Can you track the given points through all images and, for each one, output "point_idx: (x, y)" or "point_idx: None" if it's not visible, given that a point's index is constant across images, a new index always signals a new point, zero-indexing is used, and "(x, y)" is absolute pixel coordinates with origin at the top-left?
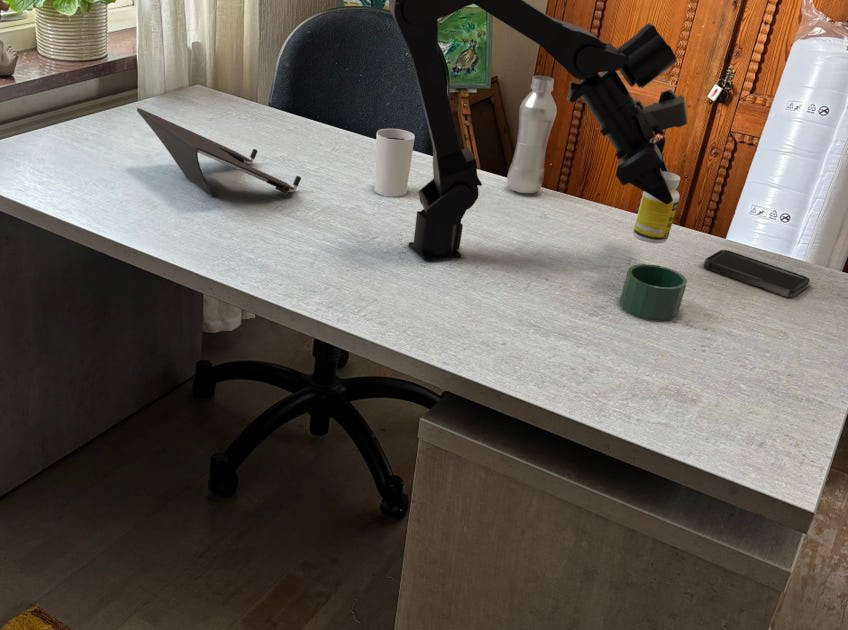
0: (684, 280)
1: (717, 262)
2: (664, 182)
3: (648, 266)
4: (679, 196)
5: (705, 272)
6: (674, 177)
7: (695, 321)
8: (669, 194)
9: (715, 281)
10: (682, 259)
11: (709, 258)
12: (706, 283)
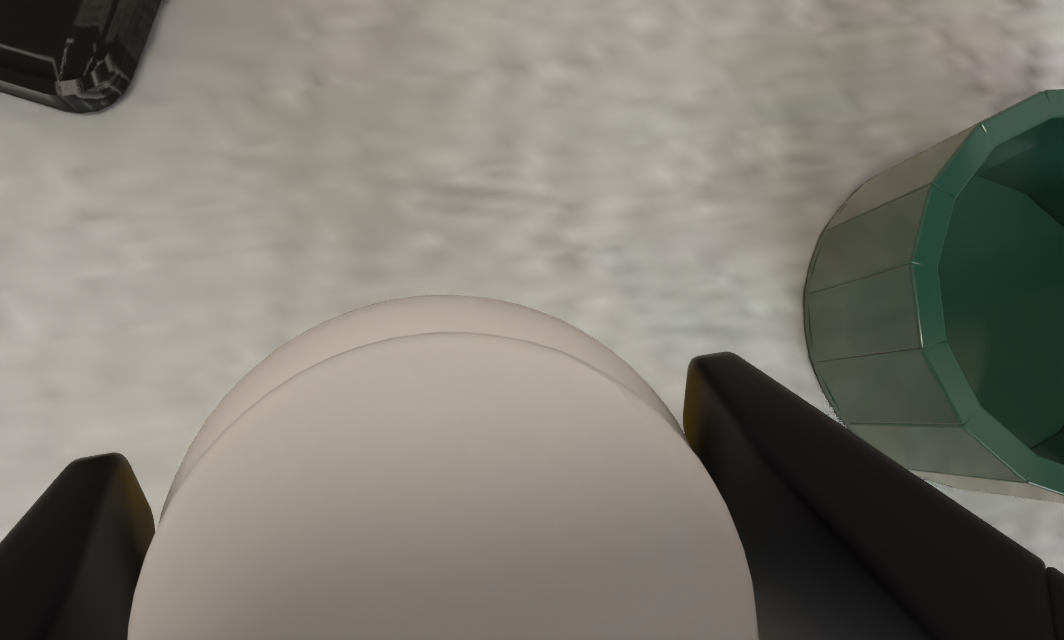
0: (1054, 108)
1: (56, 13)
2: (1050, 575)
3: (968, 387)
4: (423, 298)
5: (182, 90)
6: (481, 461)
7: (958, 58)
8: (815, 417)
9: (303, 15)
10: (25, 267)
11: (18, 72)
12: (375, 63)
